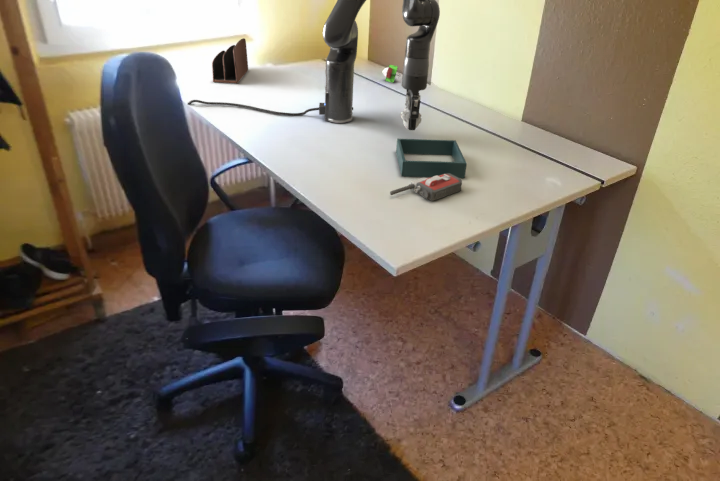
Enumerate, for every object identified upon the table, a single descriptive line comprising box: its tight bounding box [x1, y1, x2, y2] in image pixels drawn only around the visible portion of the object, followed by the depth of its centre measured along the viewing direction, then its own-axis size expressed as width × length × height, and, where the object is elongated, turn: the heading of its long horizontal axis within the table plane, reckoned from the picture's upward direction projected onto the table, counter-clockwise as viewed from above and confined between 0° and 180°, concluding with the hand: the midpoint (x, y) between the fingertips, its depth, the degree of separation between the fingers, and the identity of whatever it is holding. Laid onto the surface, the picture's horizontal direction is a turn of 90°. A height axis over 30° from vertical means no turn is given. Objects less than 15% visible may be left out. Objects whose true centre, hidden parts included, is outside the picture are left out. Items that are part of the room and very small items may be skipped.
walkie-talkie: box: [389, 173, 463, 202], centre depth 142 cm, size 9×4×20 cm
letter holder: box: [211, 38, 249, 85], centre depth 220 cm, size 10×20×14 cm, turn 178°
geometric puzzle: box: [381, 64, 401, 84], centre depth 227 cm, size 7×7×8 cm
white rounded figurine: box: [400, 107, 422, 130], centre depth 170 cm, size 6×7×7 cm
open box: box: [395, 138, 468, 179], centre depth 157 cm, size 18×17×4 cm
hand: (410, 125), depth 171 cm, fingers closed on white rounded figurine, 6 cm apart
